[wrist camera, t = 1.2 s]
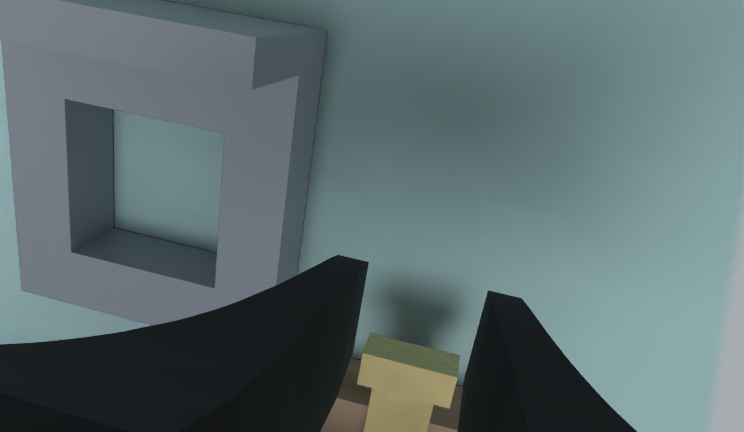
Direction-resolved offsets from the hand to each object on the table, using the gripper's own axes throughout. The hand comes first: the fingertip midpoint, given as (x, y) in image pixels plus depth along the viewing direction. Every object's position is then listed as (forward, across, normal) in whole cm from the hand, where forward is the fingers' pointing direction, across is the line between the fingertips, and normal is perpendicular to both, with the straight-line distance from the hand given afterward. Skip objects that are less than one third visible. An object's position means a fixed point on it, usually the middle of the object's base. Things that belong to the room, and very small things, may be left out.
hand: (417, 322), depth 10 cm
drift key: (+7, 0, +8) cm, 10 cm away
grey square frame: (+9, +10, +2) cm, 14 cm away
